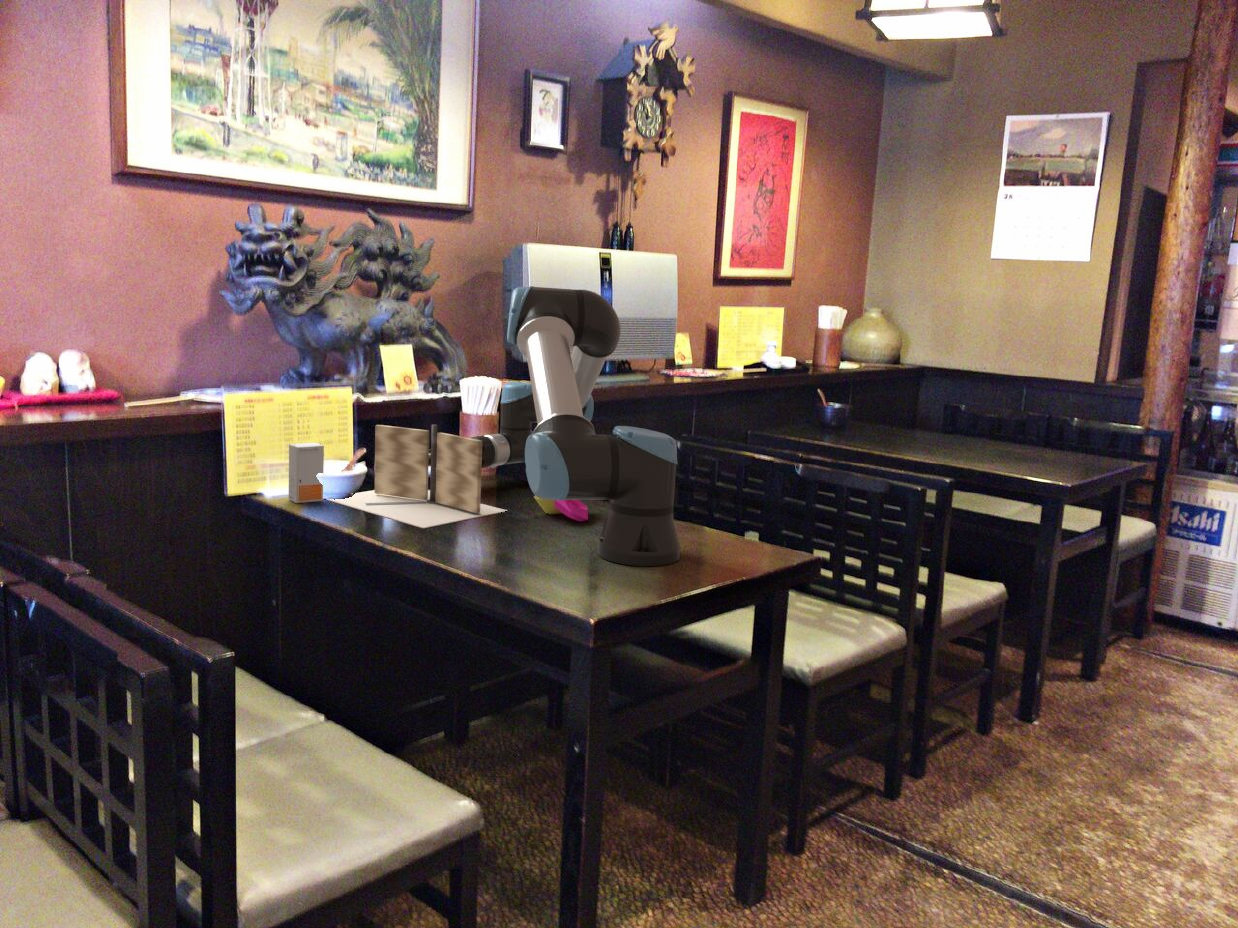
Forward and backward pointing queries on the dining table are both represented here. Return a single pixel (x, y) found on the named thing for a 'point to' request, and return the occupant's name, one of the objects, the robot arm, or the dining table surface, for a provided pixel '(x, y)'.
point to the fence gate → (401, 462)
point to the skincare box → (305, 472)
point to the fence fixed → (455, 471)
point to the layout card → (412, 509)
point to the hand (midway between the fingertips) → (405, 462)
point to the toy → (564, 508)
